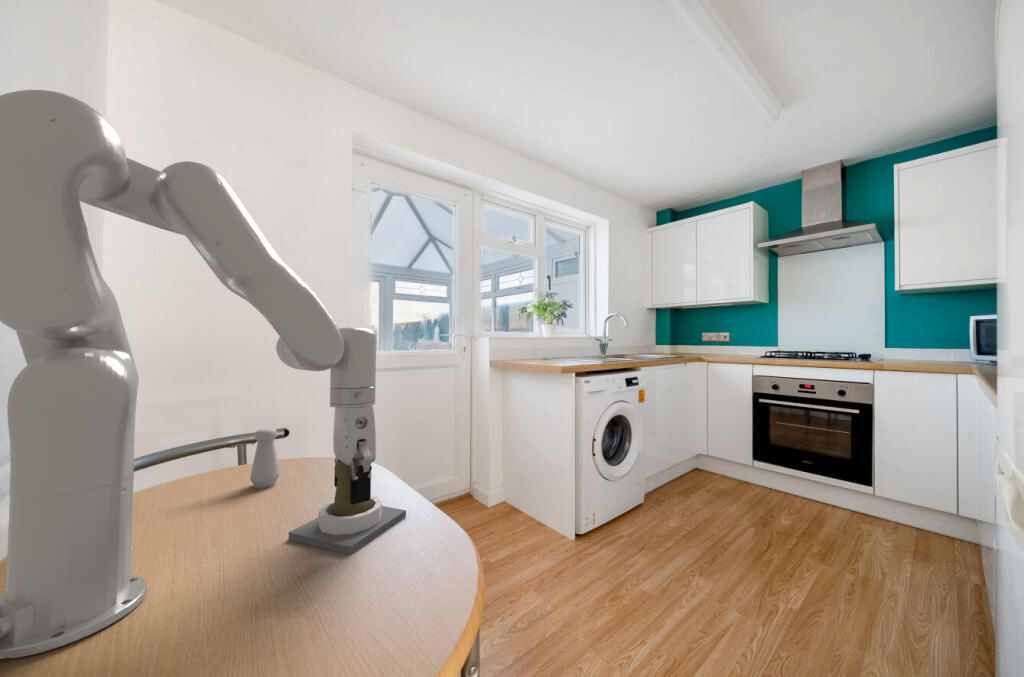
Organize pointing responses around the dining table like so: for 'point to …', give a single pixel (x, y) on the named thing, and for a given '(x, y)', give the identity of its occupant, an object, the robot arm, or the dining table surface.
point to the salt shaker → (265, 459)
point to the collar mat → (348, 539)
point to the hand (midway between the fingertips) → (351, 493)
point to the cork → (345, 493)
